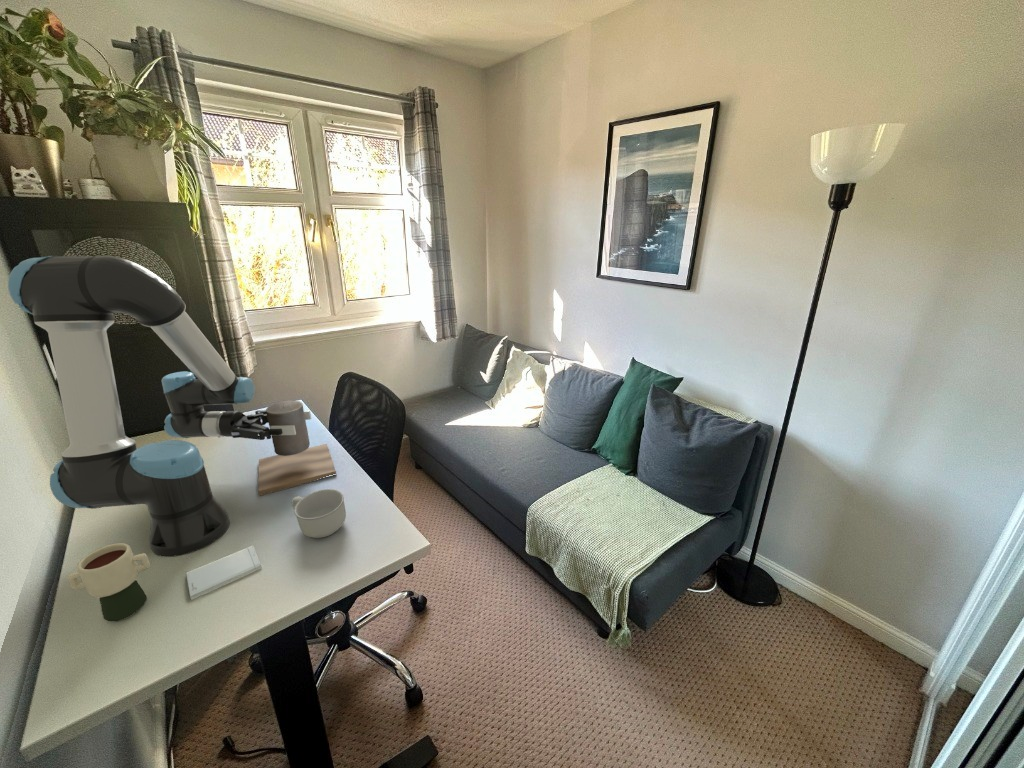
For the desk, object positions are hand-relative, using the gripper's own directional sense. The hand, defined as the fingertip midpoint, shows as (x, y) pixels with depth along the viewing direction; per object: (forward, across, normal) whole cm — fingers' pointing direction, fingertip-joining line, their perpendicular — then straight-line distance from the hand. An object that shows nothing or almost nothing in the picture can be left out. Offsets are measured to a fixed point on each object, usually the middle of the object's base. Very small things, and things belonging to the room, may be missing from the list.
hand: (302, 422), depth 121 cm
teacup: (+14, +28, -16) cm, 35 cm away
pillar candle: (-4, 0, -9) cm, 10 cm away
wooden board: (-4, 0, -16) cm, 16 cm away
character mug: (-14, +51, -15) cm, 55 cm away
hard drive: (-1, +42, -16) cm, 45 cm away
